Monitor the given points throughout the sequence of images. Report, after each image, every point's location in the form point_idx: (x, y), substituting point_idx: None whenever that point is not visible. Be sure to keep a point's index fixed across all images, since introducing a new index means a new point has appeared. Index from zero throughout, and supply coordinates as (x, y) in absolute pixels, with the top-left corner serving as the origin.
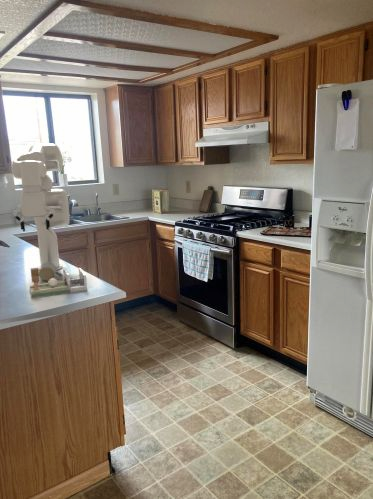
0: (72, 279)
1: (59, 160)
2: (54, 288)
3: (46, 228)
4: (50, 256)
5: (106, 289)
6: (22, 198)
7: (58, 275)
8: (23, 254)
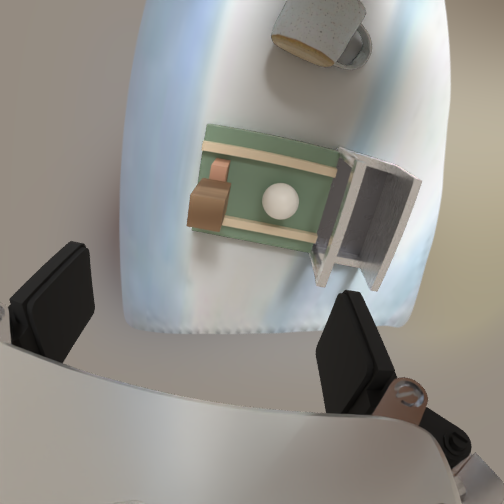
0: (371, 161)
1: None
2: (271, 234)
3: (332, 316)
4: None
5: (401, 285)
6: None
7: (358, 31)
8: None
